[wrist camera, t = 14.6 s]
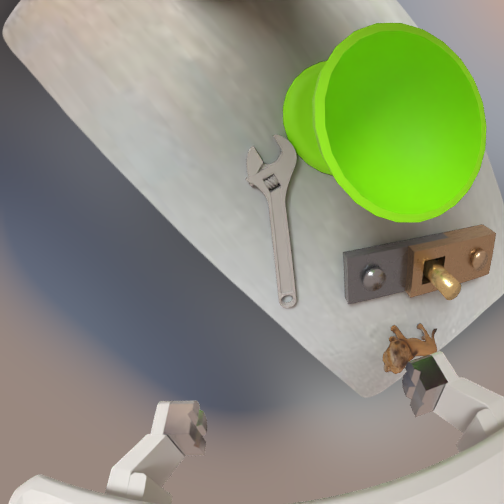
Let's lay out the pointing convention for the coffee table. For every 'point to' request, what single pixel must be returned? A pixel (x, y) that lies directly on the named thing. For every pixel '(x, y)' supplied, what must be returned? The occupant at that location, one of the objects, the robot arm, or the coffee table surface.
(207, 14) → the coffee table surface
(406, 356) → the lion figurine
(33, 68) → the coffee table surface
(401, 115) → the wineglass
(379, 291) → the door latch
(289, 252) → the adjustable wrench
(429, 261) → the brass pin
